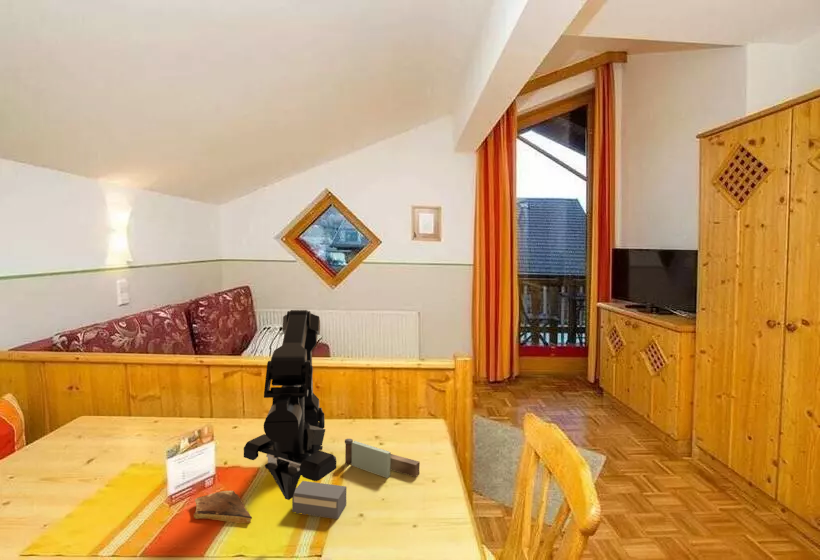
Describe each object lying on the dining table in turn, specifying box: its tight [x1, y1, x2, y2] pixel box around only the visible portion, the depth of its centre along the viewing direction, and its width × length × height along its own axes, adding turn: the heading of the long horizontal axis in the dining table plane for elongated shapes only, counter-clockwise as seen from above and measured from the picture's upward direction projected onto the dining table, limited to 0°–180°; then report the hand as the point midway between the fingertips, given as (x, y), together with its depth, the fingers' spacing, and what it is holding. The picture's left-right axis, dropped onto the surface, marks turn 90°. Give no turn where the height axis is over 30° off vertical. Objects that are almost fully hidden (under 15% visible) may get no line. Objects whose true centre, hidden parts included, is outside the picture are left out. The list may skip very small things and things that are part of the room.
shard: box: [193, 490, 253, 524], centre depth 96 cm, size 13×9×2 cm
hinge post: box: [344, 438, 354, 466], centre depth 119 cm, size 2×2×6 cm
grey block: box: [291, 480, 347, 520], centre depth 98 cm, size 10×5×4 cm, turn 79°
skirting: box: [390, 453, 420, 478], centre depth 118 cm, size 18×2×3 cm, turn 61°
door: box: [351, 440, 392, 479], centre depth 116 cm, size 11×2×6 cm, turn 58°
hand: (289, 498), depth 90 cm, fingers closed
